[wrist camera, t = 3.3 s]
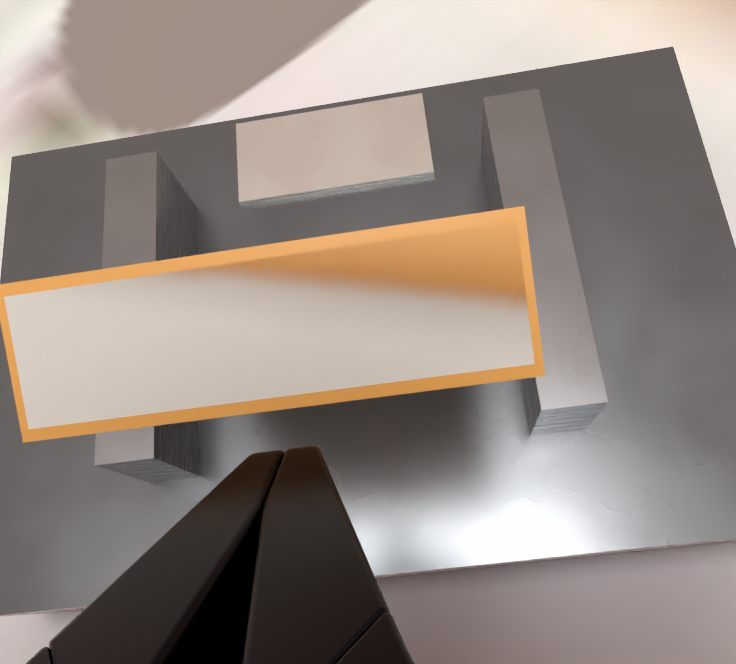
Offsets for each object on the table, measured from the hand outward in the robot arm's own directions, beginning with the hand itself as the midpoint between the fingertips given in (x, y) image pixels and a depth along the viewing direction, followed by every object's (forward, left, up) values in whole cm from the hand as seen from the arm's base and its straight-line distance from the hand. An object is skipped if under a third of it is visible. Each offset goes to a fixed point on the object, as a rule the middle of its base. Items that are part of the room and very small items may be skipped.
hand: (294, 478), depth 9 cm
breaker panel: (+4, +3, -10) cm, 11 cm away
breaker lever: (+4, +3, -6) cm, 8 cm away
